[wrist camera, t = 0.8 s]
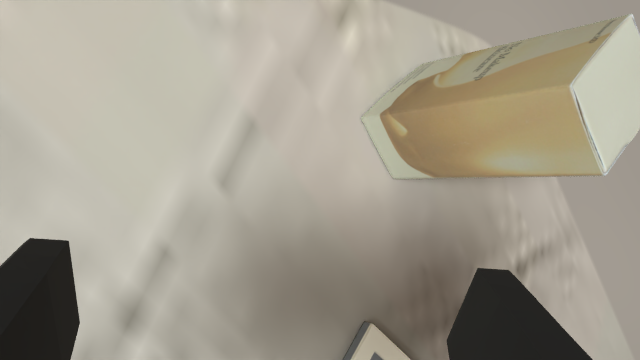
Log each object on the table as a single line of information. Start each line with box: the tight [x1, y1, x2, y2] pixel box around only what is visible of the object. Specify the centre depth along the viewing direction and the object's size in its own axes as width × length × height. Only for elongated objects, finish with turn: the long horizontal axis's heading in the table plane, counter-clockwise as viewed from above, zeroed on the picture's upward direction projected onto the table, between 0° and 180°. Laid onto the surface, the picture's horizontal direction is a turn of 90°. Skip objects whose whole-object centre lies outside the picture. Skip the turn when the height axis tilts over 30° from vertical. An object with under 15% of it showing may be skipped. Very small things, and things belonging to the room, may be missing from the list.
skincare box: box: [361, 14, 640, 179], centre depth 28 cm, size 6×4×12 cm
